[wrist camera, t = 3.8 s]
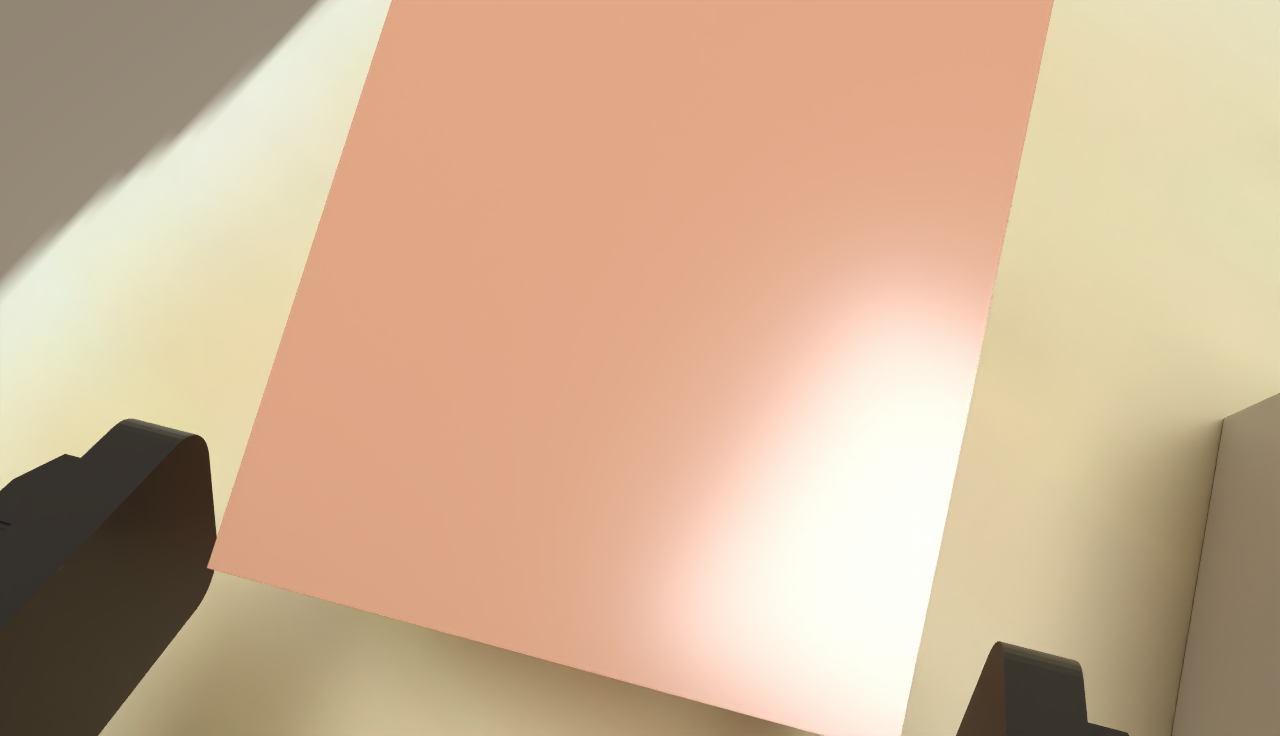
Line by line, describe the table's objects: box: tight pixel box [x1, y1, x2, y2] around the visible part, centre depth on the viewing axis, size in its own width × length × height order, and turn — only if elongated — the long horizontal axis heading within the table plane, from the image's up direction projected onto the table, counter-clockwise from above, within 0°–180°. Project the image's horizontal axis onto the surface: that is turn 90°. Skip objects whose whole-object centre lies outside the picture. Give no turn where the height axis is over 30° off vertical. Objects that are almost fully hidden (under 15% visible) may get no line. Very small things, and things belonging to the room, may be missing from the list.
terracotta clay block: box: [207, 0, 1054, 736], centre depth 17 cm, size 8×6×10 cm
